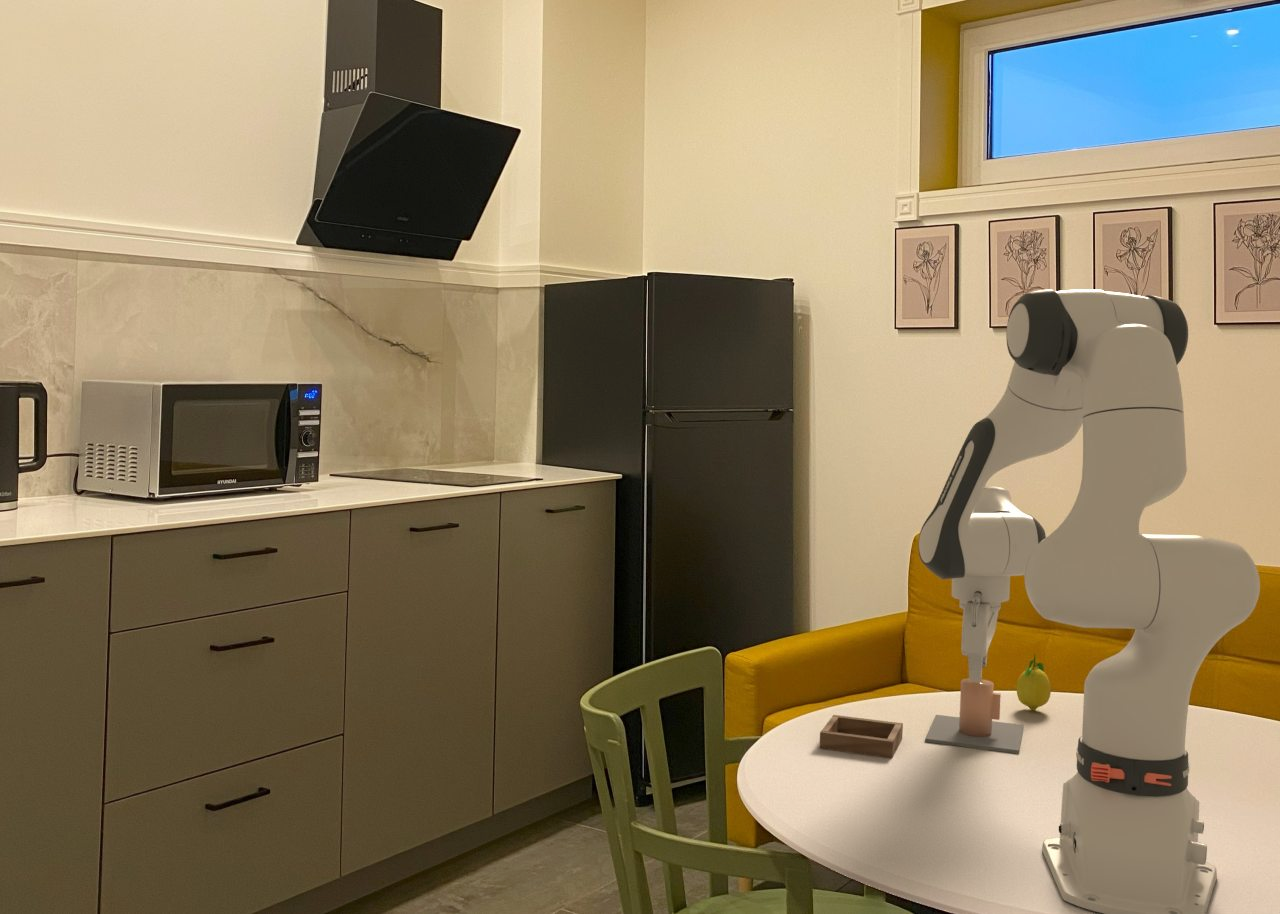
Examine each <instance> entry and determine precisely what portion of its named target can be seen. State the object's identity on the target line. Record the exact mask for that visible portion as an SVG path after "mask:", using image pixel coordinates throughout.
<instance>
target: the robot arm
mask: <svg viewBox="0 0 1280 914" xmlns="http://www.w3.org/2000/svg"><path fill="white" fill-rule="evenodd" d="M1005 337H1006V346H1007V351H1008V353H1009V356H1010V357H1011V360H1013V361H1014V363H1013V366H1012V368H1011V372H1010V375H1009V377H1008V378H1009V379H1008V382H1007V384H1006V385H1007V386H1006V389H1005V391H1004V392H1003V393H1004V394H1003V395H1002V396H1001V398H1000V400H999V401H998V403H997V404H996V405H995V406H994V408H993V410H991V412H989V413H988V414H987V415H986V416H985V417H984V418H982V419H980V420H979V421H977V422H976V423H975V424H974V425H972V426H971V428H970V431H969V432H968V434H967V436H966V438H965V439H964V442H963V444H962V445H961V449H960V450H959V453H958V455H957V456H956V459H955V460H954V464H953V466H952V468H951V471H950V473H949V475H948V477H947V480H946V481H945V484H944V486H943V488H942V491H941V493H940V496H939V497H938V500H937V502H936V504H935V505H934V507H933V509H932V511H931V512H930V514H929V515H928V517H927V518H926V520H925V521H924V523H923V525H922V526H921V529H920V532H919V537H918V543H917V544H918V546H917V547H918V555H919V559H920V561H921V562H922V564H923V565H924V566H925V567H926V568H927V569H928V570H929V571H930V572H931V573H932V574H934V575H935V576H936V577H938V578H939V579H941V580H951V597H952V598H954V599H956V600H959V603H958V606H959V608H960V609H962V610H963V613H962V625H961V645H960V646H961V649H960V650H961V654H962V656H965V657H967V662H968V663H967V664H968V678H969V679H970V680H971V681H977V682H979V681H980V680H981V679H983V677H982V675H983V669H984V668H986V666H987V659H988V651H989V649H990V646H991V643H992V640H993V637H994V635H995V633H996V629H997V622H998V617H999V611H1000V610H1001V607H1002V605H1001V604H1002V603H1005V602H1009V600H1010V591H1011V588H1010V587H1011V577H1017V576H1018V577H1019V576H1024V588H1025V591H1026V595H1027V597H1028V599H1029V601H1030V603H1031V605H1032V606H1033V608H1034V610H1035V611H1036V612H1037V613H1038V614H1039V615H1040V616H1041V617H1042V618H1043V619H1045V620H1048V621H1052V622H1055V623H1060V624H1063V625H1067V626H1068V625H1070V626H1075V627H1080V628H1083V629H1085V628H1086V629H1088V628H1089V629H1126V630H1127V629H1128V630H1130V629H1132V630H1135V631H1134V633H1133V635H1132V637H1131V639H1130V640H1129V642H1128V643H1127V644H1126V646H1125V647H1123V648H1122V649H1121V650H1120V651H1119V652H1118V653H1117V652H1116V654H1114V655H1112V656H1110V657H1107V658H1105V659H1102V660H1101V661H1099V662H1098V663H1096V665H1094V666H1093V668H1092V669H1090V671H1089V673H1088V674H1087V676H1086V678H1085V681H1084V684H1083V704H1082V705H1083V706H1082V707H1083V710H1082V711H1083V712H1082V735H1081V736H1080V737H1079V738H1078V741H1077V742H1078V743H1077V747H1076V751H1075V753H1076V755H1075V756H1076V757H1075V758H1076V770H1077V772H1076V773H1075V774H1074V775H1073V776H1072V777H1071V778H1070V779H1068V780H1067V781H1065V782H1064V783H1063V784H1062V793H1061V795H1062V796H1061V797H1062V799H1061V811H1060V823H1059V825H1058V833H1059V837H1053V838H1047V839H1045V840H1043V841H1042V847H1041V850H1042V852H1043V855H1044V858H1045V861H1046V863H1047V865H1048V867H1049V870H1050V873H1051V874H1052V876H1053V879H1054V882H1055V884H1056V885H1057V889H1058V892H1059V894H1060V895H1061V898H1062V899H1063V900H1064V901H1066V902H1067V903H1069V904H1072V905H1075V906H1077V907H1079V908H1082V909H1086V910H1089V911H1092V912H1096V913H1101V914H1207V912H1208V908H1209V904H1210V902H1211V901H1210V900H1211V898H1212V894H1213V891H1214V887H1215V884H1216V881H1217V878H1218V875H1217V874H1218V871H1217V867H1216V866H1215V865H1214V864H1212V863H1210V862H1207V854H1208V844H1206V843H1205V842H1199V834H1201V835H1202V834H1204V830H1205V829H1204V828H1205V823H1204V821H1202V820H1199V819H1200V801H1199V799H1197V798H1196V796H1195V795H1193V794H1192V793H1191V792H1190V791H1189V790H1188V787H1189V774H1190V762H1189V753H1188V751H1187V749H1186V737H1187V736H1186V733H1187V724H1188V722H1187V721H1188V714H1189V713H1188V712H1189V705H1190V697H1191V692H1192V687H1193V684H1194V681H1195V678H1196V675H1197V674H1198V672H1199V669H1200V667H1201V665H1202V663H1203V662H1204V660H1205V658H1206V657H1207V656H1208V654H1209V652H1210V651H1211V650H1212V648H1214V646H1215V645H1216V644H1217V643H1218V641H1220V639H1222V638H1223V637H1224V636H1225V635H1226V634H1227V633H1229V632H1230V631H1231V630H1233V629H1234V628H1236V627H1237V626H1239V625H1240V624H1242V623H1244V622H1245V621H1246V620H1247V619H1248V618H1249V617H1250V616H1251V614H1252V613H1253V612H1254V610H1255V608H1256V606H1257V602H1259V601H1258V600H1259V598H1260V597H1259V596H1260V592H1261V581H1260V575H1259V571H1258V568H1257V566H1256V563H1255V562H1254V560H1253V558H1252V557H1251V555H1250V554H1249V553H1248V552H1247V550H1246V549H1245V548H1243V546H1242V545H1239V544H1238V543H1235V542H1231V541H1226V540H1224V539H1223V540H1221V539H1218V538H1212V537H1207V536H1202V535H1197V534H1196V535H1195V534H1159V533H1158V534H1152V533H1150V534H1148V533H1147V534H1146V533H1140V520H1141V516H1142V515H1143V511H1144V510H1145V508H1148V507H1150V506H1152V505H1154V504H1156V503H1158V502H1160V501H1162V500H1164V499H1165V498H1167V497H1169V496H1171V495H1172V494H1173V493H1175V492H1176V491H1177V490H1179V488H1180V487H1181V485H1182V484H1183V482H1184V480H1185V478H1186V475H1187V469H1188V467H1187V452H1186V433H1185V414H1184V399H1183V391H1182V385H1181V380H1180V374H1179V370H1178V364H1180V362H1181V361H1182V359H1183V357H1184V356H1185V353H1186V350H1187V347H1188V344H1189V342H1188V341H1189V325H1188V321H1187V318H1186V315H1185V313H1184V312H1183V309H1182V308H1181V307H1180V305H1179V304H1178V303H1176V302H1175V301H1173V300H1170V299H1167V298H1164V297H1160V296H1156V295H1152V294H1147V295H1144V296H1142V295H1136V294H1130V293H1125V292H1116V291H1115V292H1114V291H1106V290H1105V291H1104V290H1102V289H1067V290H1058V291H1057V290H1053V289H1050V288H1049V289H1048V288H1047V289H1040V290H1035V291H1031V292H1026V293H1024V294H1022V295H1021V296H1020V297H1019V298H1018V299H1017V301H1016V302H1015V303H1014V304H1013V306H1012V308H1011V310H1010V313H1009V315H1008V320H1007V324H1006V336H1005ZM1081 427H1082V466H1081V467H1082V470H1081V471H1082V472H1081V481H1080V486H1079V490H1078V494H1077V496H1076V499H1075V501H1074V504H1073V506H1072V507H1071V510H1070V511H1069V513H1068V514H1067V516H1066V517H1065V518H1064V520H1063V521H1062V523H1060V525H1059V526H1057V528H1056V529H1055V530H1054V531H1052V532H1051V533H1050V534H1049V535H1048V536H1046V535H1047V534H1046V531H1045V529H1044V528H1043V526H1042V525H1041V524H1040V522H1039V521H1038V520H1037V519H1036V518H1035V517H1033V516H1032V515H1031V514H1026V513H1025V512H1023V511H1022V510H1020V509H1019V508H1018V507H1017V506H1016V505H1015V504H1014V503H1013V501H1012V498H1011V494H1010V491H1009V490H1008V489H1006V488H1004V487H1002V486H994V485H993V486H992V485H987V483H988V481H989V480H990V479H991V478H992V477H993V476H994V475H995V474H997V473H998V472H1000V471H1001V470H1004V469H1006V468H1008V467H1009V466H1012V465H1014V464H1017V463H1020V462H1023V461H1026V460H1030V459H1032V458H1033V459H1034V458H1037V457H1040V456H1045V455H1048V454H1051V453H1053V452H1055V451H1058V450H1060V449H1062V448H1063V447H1064V446H1066V445H1067V444H1069V443H1070V442H1072V440H1074V438H1075V437H1076V435H1077V434H1078V433H1079V431H1080V429H1081Z"/></svg>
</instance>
